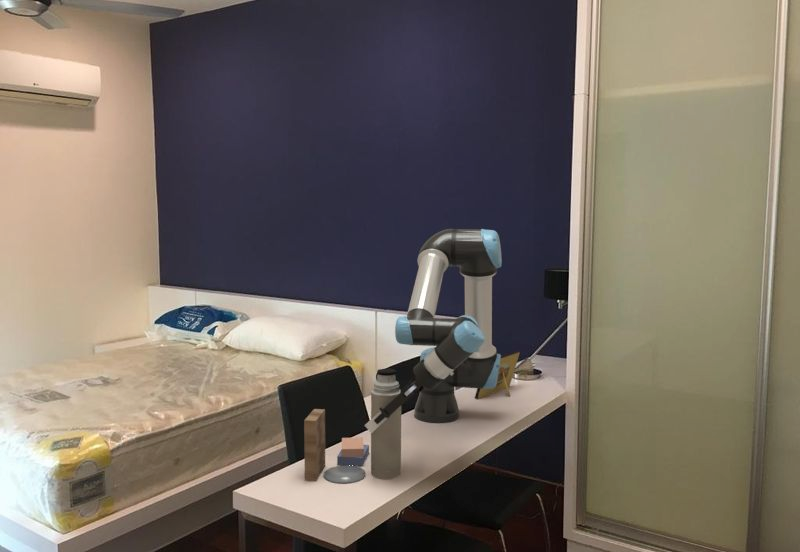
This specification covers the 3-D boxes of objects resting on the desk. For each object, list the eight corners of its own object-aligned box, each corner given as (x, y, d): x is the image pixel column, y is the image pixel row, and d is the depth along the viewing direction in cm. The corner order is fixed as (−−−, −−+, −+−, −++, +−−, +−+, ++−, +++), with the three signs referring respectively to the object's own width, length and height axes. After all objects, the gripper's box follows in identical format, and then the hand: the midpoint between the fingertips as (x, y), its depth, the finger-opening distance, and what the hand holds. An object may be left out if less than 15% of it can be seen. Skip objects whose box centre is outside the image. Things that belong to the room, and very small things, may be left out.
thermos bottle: (370, 467, 186) (370, 366, 183) (399, 467, 187) (400, 366, 184) (371, 479, 178) (371, 373, 175) (401, 478, 179) (402, 373, 176)
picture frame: (506, 385, 270) (511, 349, 267) (526, 392, 265) (531, 355, 262) (474, 398, 252) (478, 359, 250) (495, 405, 247) (500, 366, 244)
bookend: (314, 465, 187) (314, 408, 185) (325, 466, 187) (325, 409, 185) (304, 480, 177) (304, 420, 176) (316, 481, 177) (315, 421, 175)
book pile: (343, 451, 198) (343, 436, 197) (369, 453, 197) (369, 437, 196) (335, 465, 188) (334, 448, 187) (362, 467, 187) (362, 450, 186)
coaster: (329, 466, 187) (329, 464, 187) (369, 468, 186) (369, 466, 186) (319, 482, 176) (319, 480, 176) (361, 484, 175) (361, 483, 175)
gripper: (432, 390, 165) (369, 447, 172) (452, 370, 185) (395, 422, 191) (412, 367, 166) (350, 425, 173) (433, 350, 186) (377, 402, 193)
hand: (374, 423), depth 182 cm, fingers closed on thermos bottle, 8 cm apart
